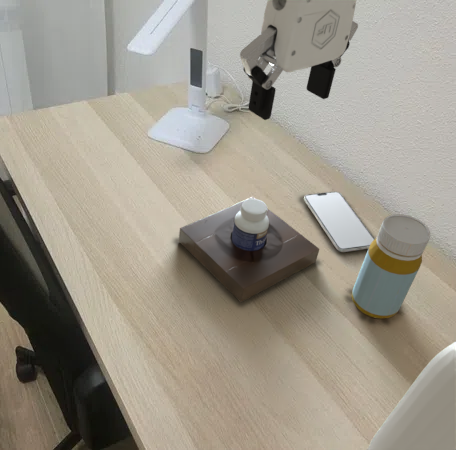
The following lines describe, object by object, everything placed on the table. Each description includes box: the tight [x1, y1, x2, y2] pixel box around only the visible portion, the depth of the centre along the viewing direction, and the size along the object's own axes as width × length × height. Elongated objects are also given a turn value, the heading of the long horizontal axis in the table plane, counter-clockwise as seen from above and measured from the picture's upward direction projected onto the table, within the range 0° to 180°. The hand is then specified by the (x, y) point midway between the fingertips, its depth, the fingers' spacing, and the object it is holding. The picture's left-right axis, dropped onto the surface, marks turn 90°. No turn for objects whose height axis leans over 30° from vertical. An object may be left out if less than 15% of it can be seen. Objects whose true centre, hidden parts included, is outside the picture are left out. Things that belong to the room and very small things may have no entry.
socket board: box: [178, 196, 320, 303], centre depth 90 cm, size 16×16×3 cm
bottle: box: [351, 213, 431, 319], centre depth 78 cm, size 7×7×15 cm
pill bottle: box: [231, 198, 269, 251], centre depth 88 cm, size 5×5×10 cm
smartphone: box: [303, 191, 376, 253], centre depth 97 cm, size 7×1×15 cm
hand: (288, 104), depth 67 cm, fingers open, 9 cm apart
